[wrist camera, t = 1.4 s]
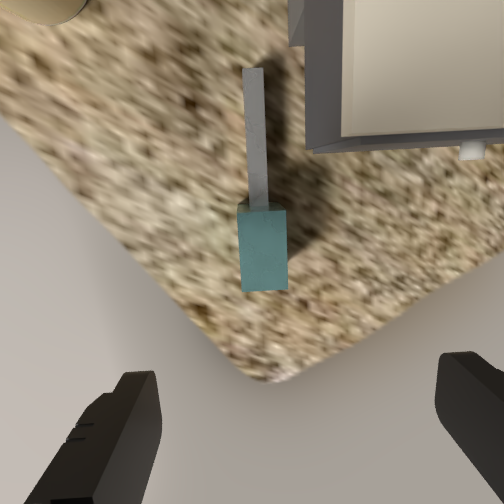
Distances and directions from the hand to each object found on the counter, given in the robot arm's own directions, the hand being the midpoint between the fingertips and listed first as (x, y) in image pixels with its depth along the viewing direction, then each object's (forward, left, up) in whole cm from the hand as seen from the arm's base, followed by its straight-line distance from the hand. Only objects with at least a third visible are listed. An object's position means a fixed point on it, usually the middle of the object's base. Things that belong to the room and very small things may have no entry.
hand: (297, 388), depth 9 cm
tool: (-5, 0, -21) cm, 21 cm away
